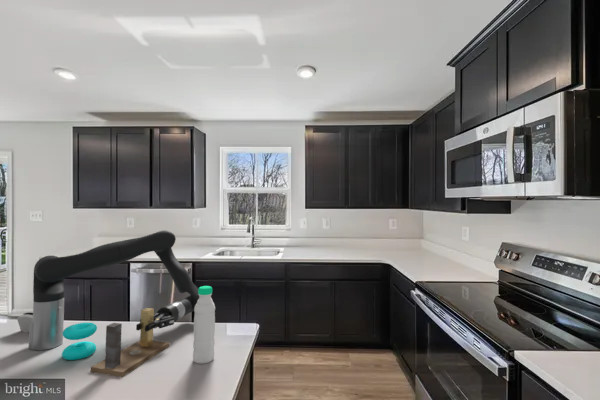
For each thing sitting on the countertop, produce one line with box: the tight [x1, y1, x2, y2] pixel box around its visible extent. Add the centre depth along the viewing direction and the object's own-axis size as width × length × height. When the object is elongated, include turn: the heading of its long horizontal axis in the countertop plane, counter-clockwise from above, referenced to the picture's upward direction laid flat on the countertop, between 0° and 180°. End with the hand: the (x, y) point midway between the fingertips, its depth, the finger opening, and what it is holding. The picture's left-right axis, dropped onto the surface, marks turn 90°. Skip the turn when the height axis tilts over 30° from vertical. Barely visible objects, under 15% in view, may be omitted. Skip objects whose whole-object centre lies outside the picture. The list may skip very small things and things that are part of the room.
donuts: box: [61, 322, 98, 361], centre depth 113 cm, size 10×10×10 cm
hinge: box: [16, 310, 33, 333], centre depth 132 cm, size 17×5×10 cm, turn 72°
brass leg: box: [139, 307, 155, 347], centre depth 118 cm, size 3×3×13 cm
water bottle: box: [192, 285, 216, 365], centre depth 111 cm, size 7×7×25 cm
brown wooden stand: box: [90, 322, 170, 378], centre depth 111 cm, size 23×12×14 cm, turn 166°
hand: (141, 328), depth 115 cm, fingers closed on brass leg, 3 cm apart
